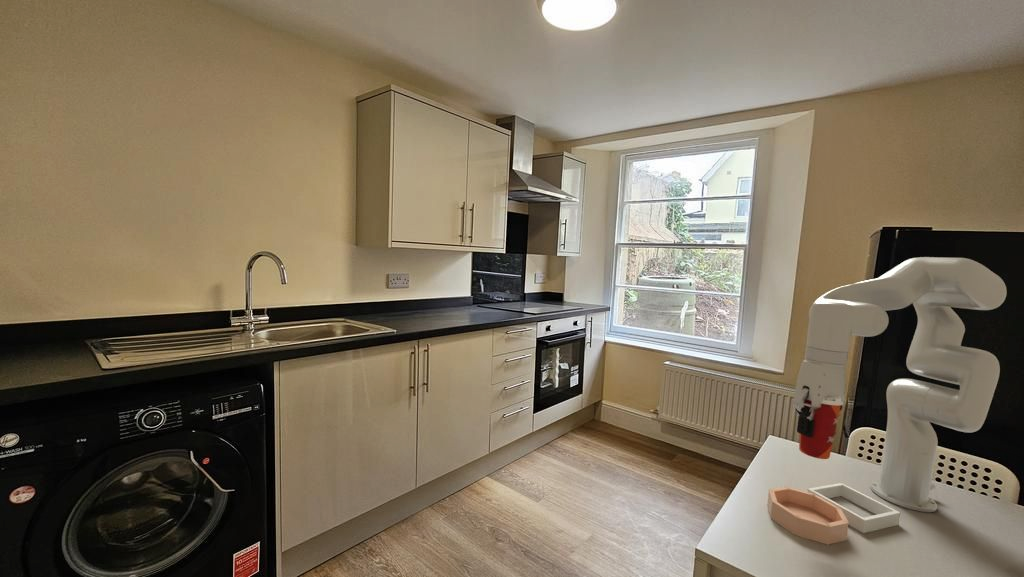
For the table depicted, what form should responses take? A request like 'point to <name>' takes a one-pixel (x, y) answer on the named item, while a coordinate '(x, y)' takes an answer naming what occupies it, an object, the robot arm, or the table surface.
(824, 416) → the paper cup
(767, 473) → the table surface
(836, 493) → the parts tray
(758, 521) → the table surface
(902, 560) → the table surface
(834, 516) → the dish
